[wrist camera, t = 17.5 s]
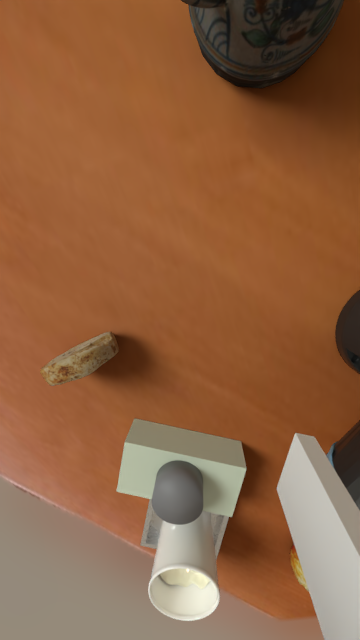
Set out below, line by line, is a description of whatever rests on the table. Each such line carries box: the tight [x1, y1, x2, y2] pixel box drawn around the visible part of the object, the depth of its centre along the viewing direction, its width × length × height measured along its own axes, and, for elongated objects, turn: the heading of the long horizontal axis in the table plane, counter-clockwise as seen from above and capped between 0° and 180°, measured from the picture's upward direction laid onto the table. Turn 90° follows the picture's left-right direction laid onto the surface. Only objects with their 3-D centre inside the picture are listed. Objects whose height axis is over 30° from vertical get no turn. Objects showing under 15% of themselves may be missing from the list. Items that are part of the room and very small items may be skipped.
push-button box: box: [117, 418, 247, 525], centre depth 42 cm, size 18×9×10 cm, turn 79°
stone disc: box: [40, 332, 119, 386], centre depth 39 cm, size 10×4×10 cm, turn 114°
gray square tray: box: [141, 499, 229, 559], centre depth 49 cm, size 14×14×2 cm
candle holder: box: [148, 511, 220, 621], centre depth 44 cm, size 10×10×12 cm
